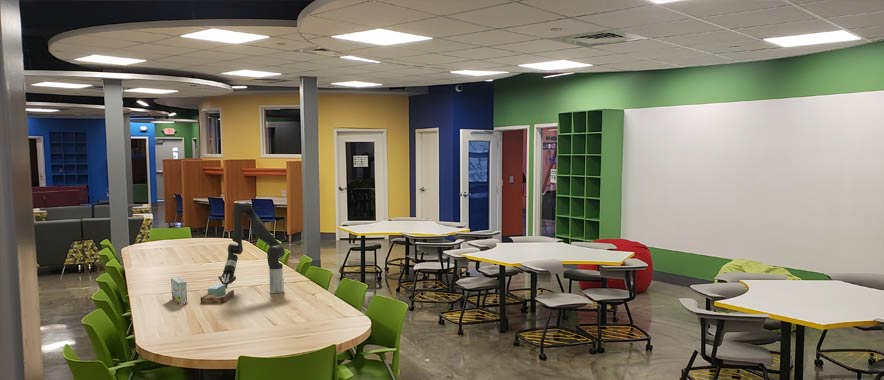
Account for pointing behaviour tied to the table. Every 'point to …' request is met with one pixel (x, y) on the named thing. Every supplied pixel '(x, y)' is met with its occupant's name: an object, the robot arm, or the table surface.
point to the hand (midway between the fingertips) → (224, 288)
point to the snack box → (179, 290)
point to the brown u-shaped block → (217, 298)
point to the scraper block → (217, 290)
